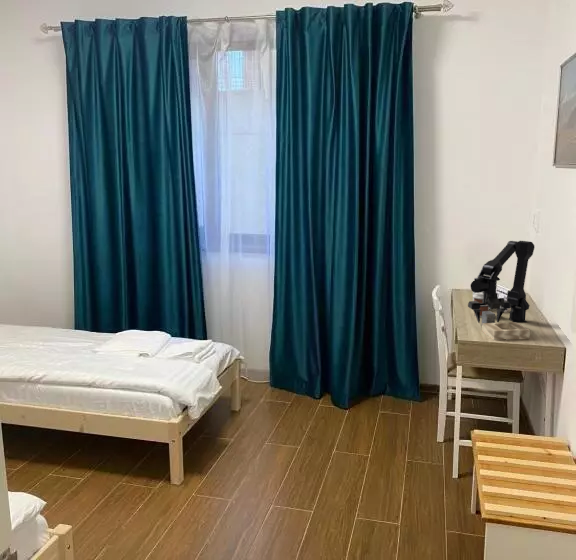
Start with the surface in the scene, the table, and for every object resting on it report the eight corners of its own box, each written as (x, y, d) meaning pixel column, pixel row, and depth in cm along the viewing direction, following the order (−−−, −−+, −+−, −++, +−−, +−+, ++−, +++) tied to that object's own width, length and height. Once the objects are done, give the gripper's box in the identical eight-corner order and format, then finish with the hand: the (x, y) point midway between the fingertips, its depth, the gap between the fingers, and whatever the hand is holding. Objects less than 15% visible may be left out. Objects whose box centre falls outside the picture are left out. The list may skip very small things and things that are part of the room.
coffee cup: (494, 316, 310) (495, 293, 308) (478, 318, 308) (479, 295, 305) (483, 313, 319) (484, 290, 317) (468, 314, 316) (469, 291, 314)
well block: (515, 330, 284) (516, 322, 283) (529, 338, 270) (529, 330, 270) (481, 331, 283) (482, 323, 282) (493, 339, 269) (494, 331, 269)
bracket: (489, 325, 294) (490, 311, 293) (496, 329, 287) (497, 314, 285) (481, 325, 294) (482, 311, 293) (487, 329, 286) (488, 315, 285)
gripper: (476, 294, 280) (475, 327, 283) (516, 293, 281) (514, 326, 284) (468, 289, 291) (466, 321, 293) (506, 288, 292) (504, 320, 295)
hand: (488, 322), depth 291 cm, fingers open, 9 cm apart
